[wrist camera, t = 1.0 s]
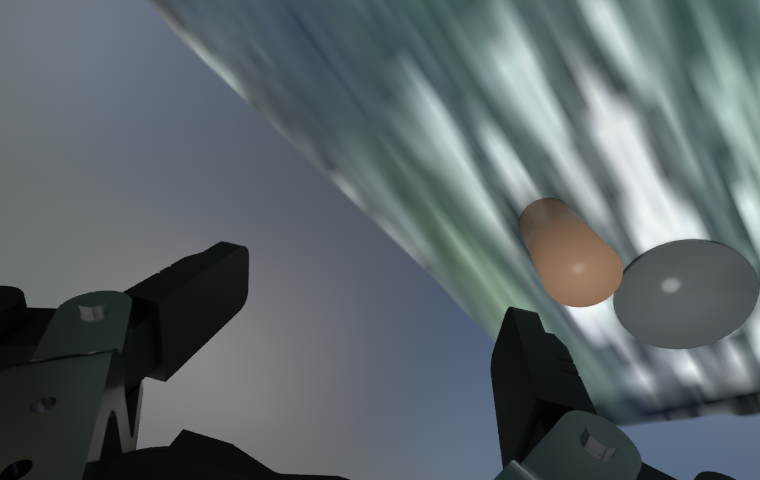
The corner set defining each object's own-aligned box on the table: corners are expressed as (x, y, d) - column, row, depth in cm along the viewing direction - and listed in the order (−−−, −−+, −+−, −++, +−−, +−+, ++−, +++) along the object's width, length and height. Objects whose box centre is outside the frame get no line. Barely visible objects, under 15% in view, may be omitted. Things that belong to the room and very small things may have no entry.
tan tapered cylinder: (555, 187, 36) (596, 226, 25) (585, 228, 36) (637, 283, 25) (508, 218, 38) (527, 267, 27) (537, 256, 38) (567, 319, 27)
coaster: (715, 214, 34) (719, 216, 33) (778, 310, 35) (783, 313, 35) (590, 281, 38) (591, 284, 38) (651, 363, 40) (654, 366, 39)
